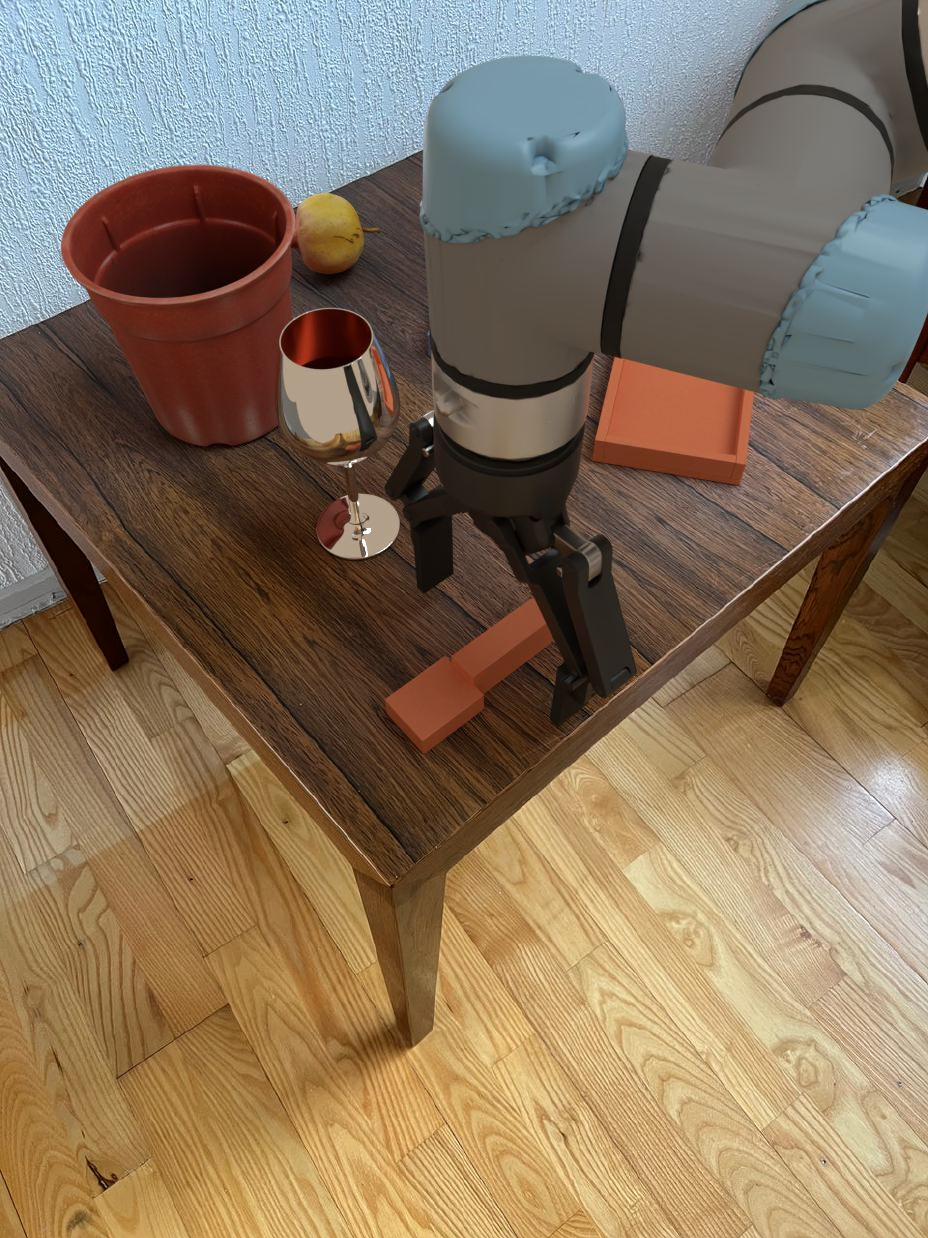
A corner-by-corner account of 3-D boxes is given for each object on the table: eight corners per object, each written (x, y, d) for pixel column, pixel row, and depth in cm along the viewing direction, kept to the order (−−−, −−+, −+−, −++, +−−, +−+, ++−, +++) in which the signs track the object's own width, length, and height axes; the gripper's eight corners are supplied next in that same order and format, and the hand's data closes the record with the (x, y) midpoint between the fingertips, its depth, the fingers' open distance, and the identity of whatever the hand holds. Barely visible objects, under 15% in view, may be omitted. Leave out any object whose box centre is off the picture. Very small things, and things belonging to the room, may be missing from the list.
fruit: (371, 176, 89) (263, 190, 88) (382, 200, 84) (268, 215, 83) (379, 249, 94) (277, 264, 93) (391, 276, 89) (283, 292, 87)
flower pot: (330, 330, 86) (302, 158, 73) (320, 466, 77) (286, 298, 63) (146, 336, 86) (84, 166, 73) (115, 473, 77) (37, 306, 63)
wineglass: (291, 506, 74) (242, 316, 60) (389, 474, 76) (366, 281, 61) (325, 584, 70) (281, 400, 55) (428, 548, 72) (413, 360, 57)
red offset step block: (522, 615, 68) (523, 589, 66) (560, 651, 67) (563, 625, 64) (386, 713, 64) (382, 690, 62) (423, 755, 62) (421, 732, 60)
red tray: (755, 346, 84) (762, 323, 82) (739, 485, 75) (746, 464, 73) (623, 326, 85) (626, 304, 83) (592, 461, 77) (595, 439, 75)
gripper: (300, 317, 51) (344, 559, 69) (640, 614, 40) (588, 810, 58) (411, 259, 53) (426, 506, 71) (757, 524, 43) (674, 737, 60)
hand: (499, 643), depth 65 cm, fingers open, 13 cm apart
